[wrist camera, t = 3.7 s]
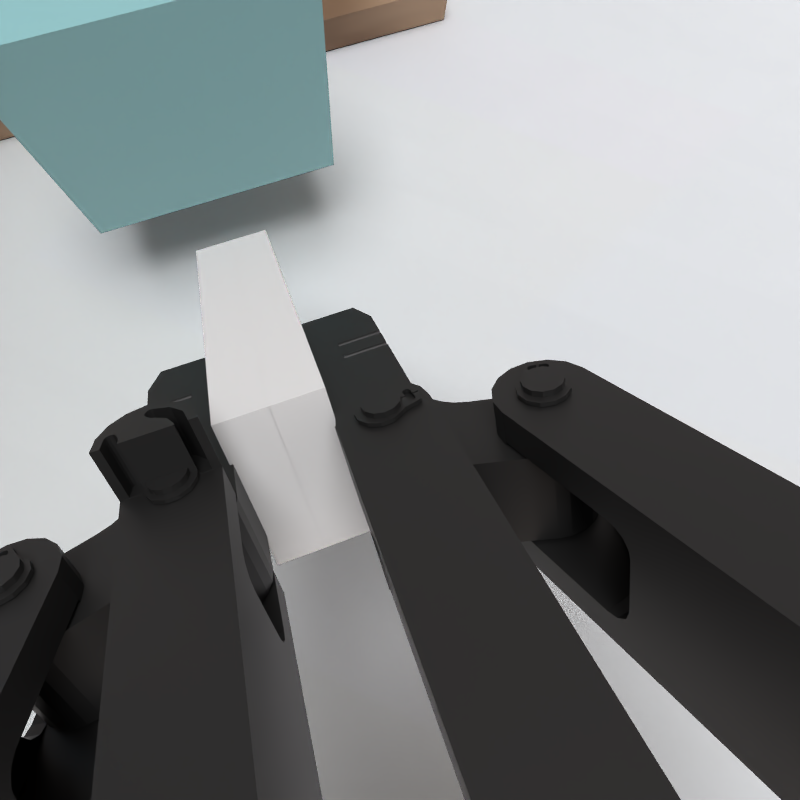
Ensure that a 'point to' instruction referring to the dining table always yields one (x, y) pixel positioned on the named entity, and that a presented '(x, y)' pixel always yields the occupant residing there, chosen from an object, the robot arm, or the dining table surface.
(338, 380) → the robot arm
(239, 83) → the teal piece
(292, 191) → the dining table surface
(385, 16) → the mount
